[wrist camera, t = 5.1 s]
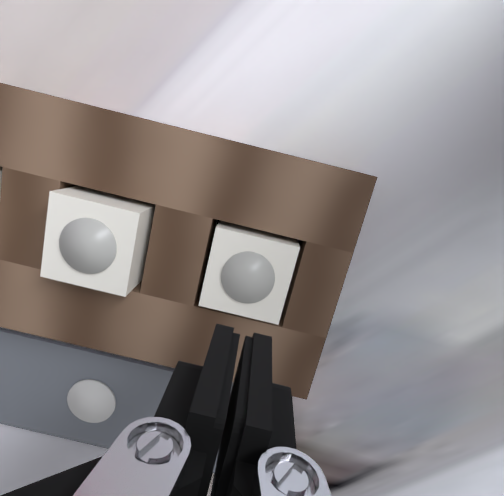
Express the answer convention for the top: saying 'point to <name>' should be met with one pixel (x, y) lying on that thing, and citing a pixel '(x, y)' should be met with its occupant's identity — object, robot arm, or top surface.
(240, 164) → the button board
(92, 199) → the middle button
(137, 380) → the pattern card
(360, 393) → the top surface
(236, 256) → the button
